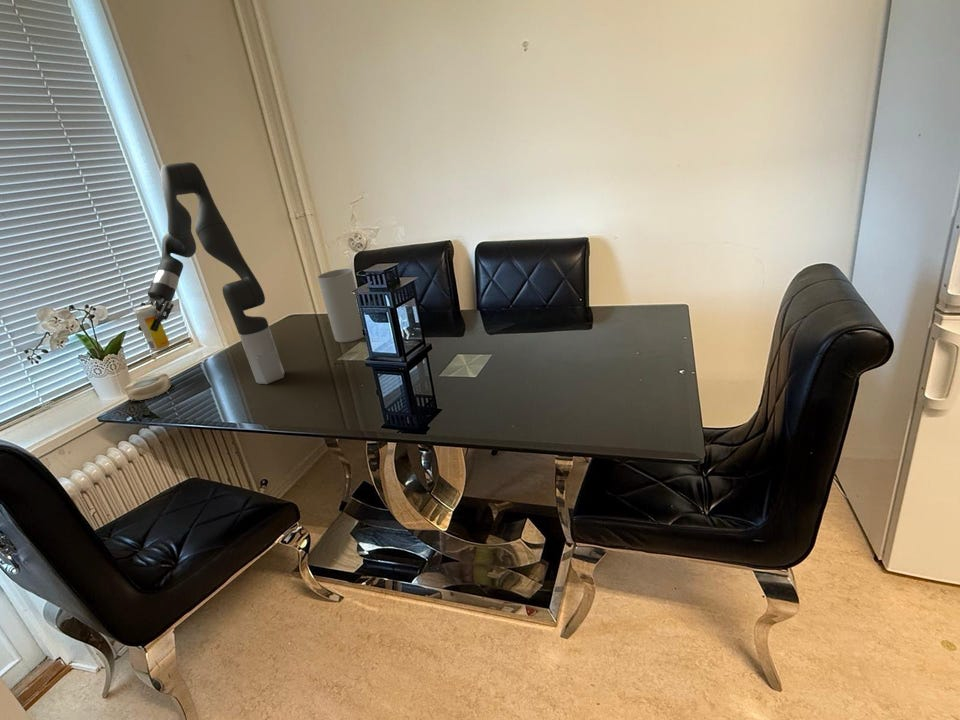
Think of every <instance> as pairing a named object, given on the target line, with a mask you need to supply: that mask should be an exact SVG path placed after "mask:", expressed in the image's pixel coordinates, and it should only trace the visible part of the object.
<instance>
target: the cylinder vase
mask: <svg viewBox="0 0 960 720" xmlns="http://www.w3.org/2000/svg"><path fill="white" fill-rule="evenodd" d="M316 279H317V282H318V284H319V285H318V286H319V289H320V292H321V296H322V299H323V302H324V306H325V309H326V310H325V311H326V313H327V316H328V320H329V322H330V328H331V330H332V334H333V337H334V341H335V342H337V343H341V344H342V343H344V344H345V343H352V342H355V341H358V340H361V339H362V338H364V337H365V336H364V335H363V331H362V326H361V319H360V314H359V311H358V307H357V302H356V296H355V294H353V293H351V292H352V291H354V290H355V289H357V285H356V280H355V278H354V273H353V271H352V268H341V269H335V270H330V271H326V272H324V273H322V274H319V275H317V276H316Z"/></svg>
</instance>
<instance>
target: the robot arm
mask: <svg viewBox="0 0 960 720" xmlns="http://www.w3.org/2000/svg"><path fill="white" fill-rule="evenodd" d="M160 180H161V186H162V193H163V197H164V202H165V207H166V213H167V231H168V233H165V235H164V236H163V237H162V243H161V245H162V246H161V248H162V249H161V252H162V253H161V259H160V262H159V265H158V268H157V270H156V273H155V274H154V276H153V278H152V280H151V284H150V286H149V289H148V292H147V296H149V299H148V301H147V302H141V303H140V306H139V307H141V306H145V305H152V306H153V307H154V308H155V313H156V315H155V318H154V322H153V324H152V325H151V327H150V330H152V331H157V330H158V328H159V325H160V323H161V324H162V322H163V321H164V320H165V321H166V320H168V317H169V316H170V314H171V313H172V310H173V307H174V304H173V303H172V302H173V298H174V296H175V293H176V292H177V289H178V285H179V280H180V278H181V274H182V271H183V269H184V263H183V262H182V261H181V260H179V259H177V258H175V257H174V256H172V254H173V255H177V256H179V257H183V258H191V257H193V256H194V255H196V254H195V253H196V251H197V243H196V240H195V238H194V237H195V236H194V235H193V232H192V216H191V214H190V212H189V211H188V209H187V208H186V207H185V206H184V205H183V204H182V203H181V202H180V201H179V200H178V198H177V196H179V195H180V196H182V195H189V194H195V195H196V197H197V200H198V212H197V216H196V220H195V225H194V226H195V227H194V229H195V234H196V236H197V238H198V240H199V241H200V242H199V243H201V245H202V247H203V249H204V250H205V252H206V253H207V254H209V255H210V256H212V258H214V259H216V260H217V261H219V262H221V263H222V264H224V265H225V266H227V267H228V268H230V269H232V271H233V272H235V274H237V276H238V277H239V280H236V281H231V282H228V283H226V284H224V285H223V286H222V289H221V290H222V294H223V298H224V300H225V303H226V306H227V308H228V310H229V312H230V315H231V318H232V320H233V323H234V325H235V328H236V330H237V333H238V336H239V338H240V341H241V344H242V346H243V350H244V353H245V355H246V359H247V360H248V361H247V362H248V364H249V366H250V369H251V371H252V374H253V377H254V380H255V382H256V383H257V384H260V385H261V384H263V385H268V384H270V383H273V382H275V381H278V380H280V379H284V377H285V371H284V367H283V364H282V361H281V358H280V355H279V353H278V350H277V346H276V344H275V340H274V337H273V335H272V331H271V329H270V325H269V322H268V320H267V318H266V317H264V316H251V315H246V314H245V312H244V311H247V310H251V309H253V308H257V307H260V306H262V305H264V303H265V301H266V296H265V293H264V290H263V288H262V286H261V284H260V282H259V281H258V279H257V278H256V276H255V274H254V272H253V271H252V270H251V268H250V267H249V265H248V263H247V262H246V260H245V259H244V257H243V254H242V252H241V251H240V249H239V246H238V244H237V243H236V241H235V239H234V237H233V234H232V233H231V231H230V229H229V227H228V225H227V223H226V222H225V220H224V218H223V217H222V215H221V212H220V211H219V208H218V207H217V205H216V202H215V201H214V199H213V196H212V194H211V192H210V190H209V187H208V185H207V182H206V180H205V178H204V175H203V174H202V172H201V170H200V168H199V167H198V166H197V164H195V163H194V162H188V161H187V162H180V163H179V162H177V163H168V164H164V165H162V166H161V168H160ZM155 319H156V320H155ZM137 328H138V331H139V332H142V333H143V331H142V329H141V327H140V325H139V326H138V327H137Z"/></svg>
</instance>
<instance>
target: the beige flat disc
mask: <svg viewBox="0 0 960 720" xmlns="http://www.w3.org/2000/svg"><path fill="white" fill-rule="evenodd" d="M171 382H172V381H171V380H170V378H169V376H168V374H166V373H156V374H150V375H147V376H144V377H141V378H139V379H136V380H134V381H132V382H130V383H129V384H128V385H126V386H125V387H124V390H125V393H126V395H127V397H128V399H129V401H130V400H133V399H135V400H143V399H148V398H152V397H155V396H157V395H159V394H162V393H164V392H165V391H167V390H168V389H169V388H170V387H171V385H172V386H173V384H172V383H171ZM167 392H168V391H167ZM164 394H165V393H164ZM162 395H163V394H162ZM157 397H158V396H157ZM155 398H156V397H155ZM152 399H153V398H152Z"/></svg>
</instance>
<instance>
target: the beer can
mask: <svg viewBox="0 0 960 720" xmlns="http://www.w3.org/2000/svg"><path fill="white" fill-rule="evenodd" d="M140 306H141V305H140ZM140 306H139V307H136V308H134V315H135V319H136V321H137V322H138V324H139V325H140V327H141V329H142V331H143V332H142V331H141V332H142V333H143V336H144V337H145V340H146V342H147V345H148V347H149V349H150V350H151V351H153V352H157V351H158V352H159V351H162V350H165V349H167V348H169V346H170V344H171V343H170V341H169V337H168V336H167V334H166V331H165V329H164V326H163V324H162V322H161V323H160V325H159V328H158V330H157V331H152V330H150V327H151V325H152V324H153V322H154V318H155V315H156V313H155V308H154V307H153V306H152V305H145V306H141V307H140ZM155 320H156V319H155Z"/></svg>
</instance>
